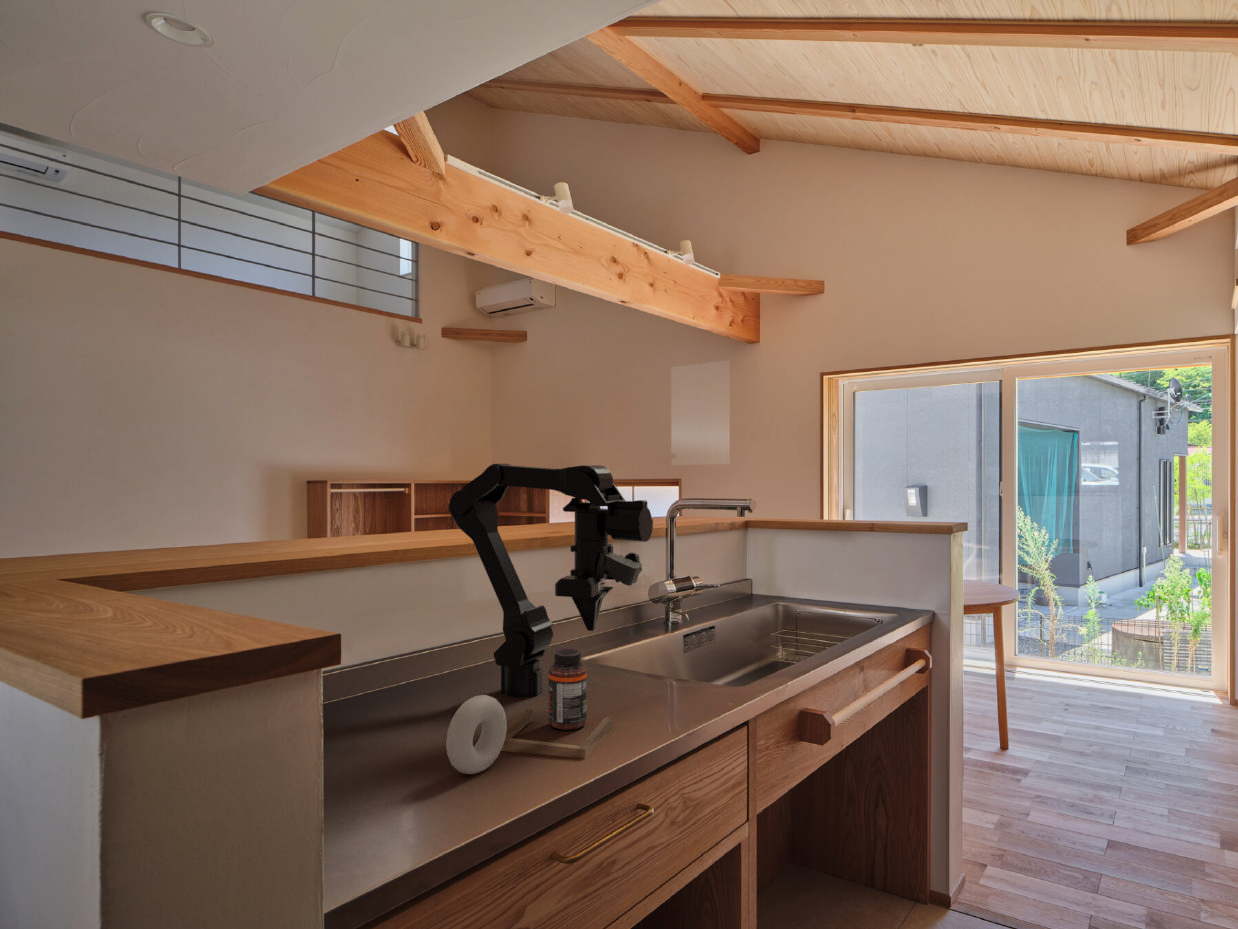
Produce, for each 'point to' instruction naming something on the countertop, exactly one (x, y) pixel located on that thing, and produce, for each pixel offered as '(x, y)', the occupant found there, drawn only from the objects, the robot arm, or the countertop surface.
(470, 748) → the donut
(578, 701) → the supplement bottle
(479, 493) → the robot arm
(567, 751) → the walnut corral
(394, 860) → the countertop surface
